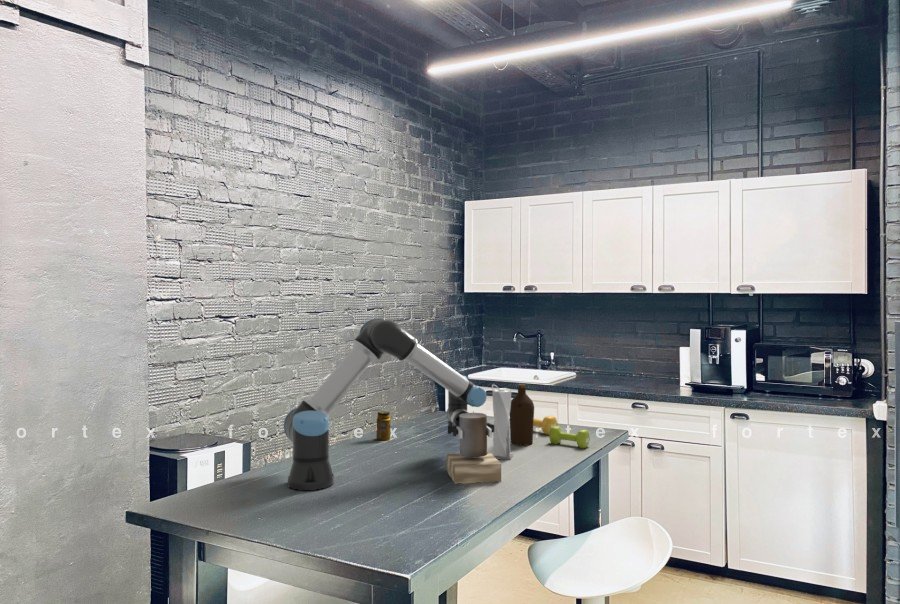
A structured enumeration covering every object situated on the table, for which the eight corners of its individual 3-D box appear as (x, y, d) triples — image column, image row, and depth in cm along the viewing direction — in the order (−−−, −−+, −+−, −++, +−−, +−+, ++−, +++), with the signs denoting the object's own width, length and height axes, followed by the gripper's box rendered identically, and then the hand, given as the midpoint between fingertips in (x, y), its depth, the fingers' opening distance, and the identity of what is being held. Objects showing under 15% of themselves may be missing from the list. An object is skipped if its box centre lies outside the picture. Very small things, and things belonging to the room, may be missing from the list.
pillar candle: (491, 452, 224) (491, 409, 224) (480, 458, 215) (480, 414, 215) (466, 449, 228) (465, 408, 228) (454, 456, 219) (454, 412, 219)
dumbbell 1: (515, 429, 297) (515, 412, 297) (527, 427, 303) (527, 409, 303) (547, 436, 283) (547, 418, 283) (559, 433, 289) (559, 415, 289)
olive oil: (537, 445, 266) (538, 385, 266) (514, 446, 264) (514, 386, 263) (528, 439, 277) (528, 382, 276) (505, 440, 274) (505, 383, 274)
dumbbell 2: (591, 446, 265) (591, 429, 265) (583, 450, 259) (583, 432, 259) (555, 440, 275) (555, 424, 275) (547, 444, 269) (547, 427, 268)
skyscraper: (488, 457, 246) (488, 385, 245) (493, 452, 253) (493, 382, 253) (510, 459, 243) (510, 386, 243) (514, 454, 251) (514, 383, 251)
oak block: (501, 481, 215) (501, 463, 215) (454, 483, 212) (454, 465, 212) (489, 468, 231) (489, 452, 231) (446, 470, 228) (446, 453, 228)
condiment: (394, 438, 278) (394, 411, 277) (384, 443, 270) (384, 414, 270) (379, 437, 280) (379, 410, 280) (369, 441, 273) (369, 413, 272)
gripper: (491, 429, 241) (507, 443, 219) (433, 431, 237) (444, 446, 215) (491, 410, 241) (507, 421, 219) (433, 411, 237) (444, 424, 215)
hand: (476, 434), depth 217 cm, fingers closed on pillar candle, 9 cm apart
